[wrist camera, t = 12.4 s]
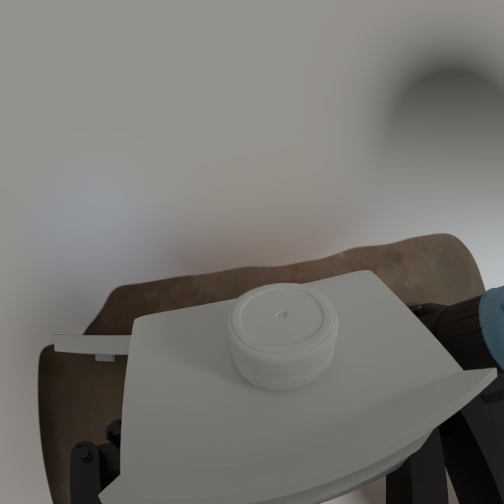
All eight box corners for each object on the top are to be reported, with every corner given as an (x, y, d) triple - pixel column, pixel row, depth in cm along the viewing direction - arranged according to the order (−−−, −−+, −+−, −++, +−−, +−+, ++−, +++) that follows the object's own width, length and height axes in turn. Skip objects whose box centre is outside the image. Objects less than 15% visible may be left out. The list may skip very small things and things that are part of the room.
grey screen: (187, 332, 37) (169, 324, 26) (190, 359, 36) (172, 362, 25) (97, 335, 36) (54, 326, 25) (98, 360, 34) (55, 359, 23)
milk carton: (303, 403, 20) (492, 493, 2) (217, 422, 19) (177, 608, 1) (283, 323, 22) (448, 202, 4) (198, 341, 21) (51, 272, 3)
